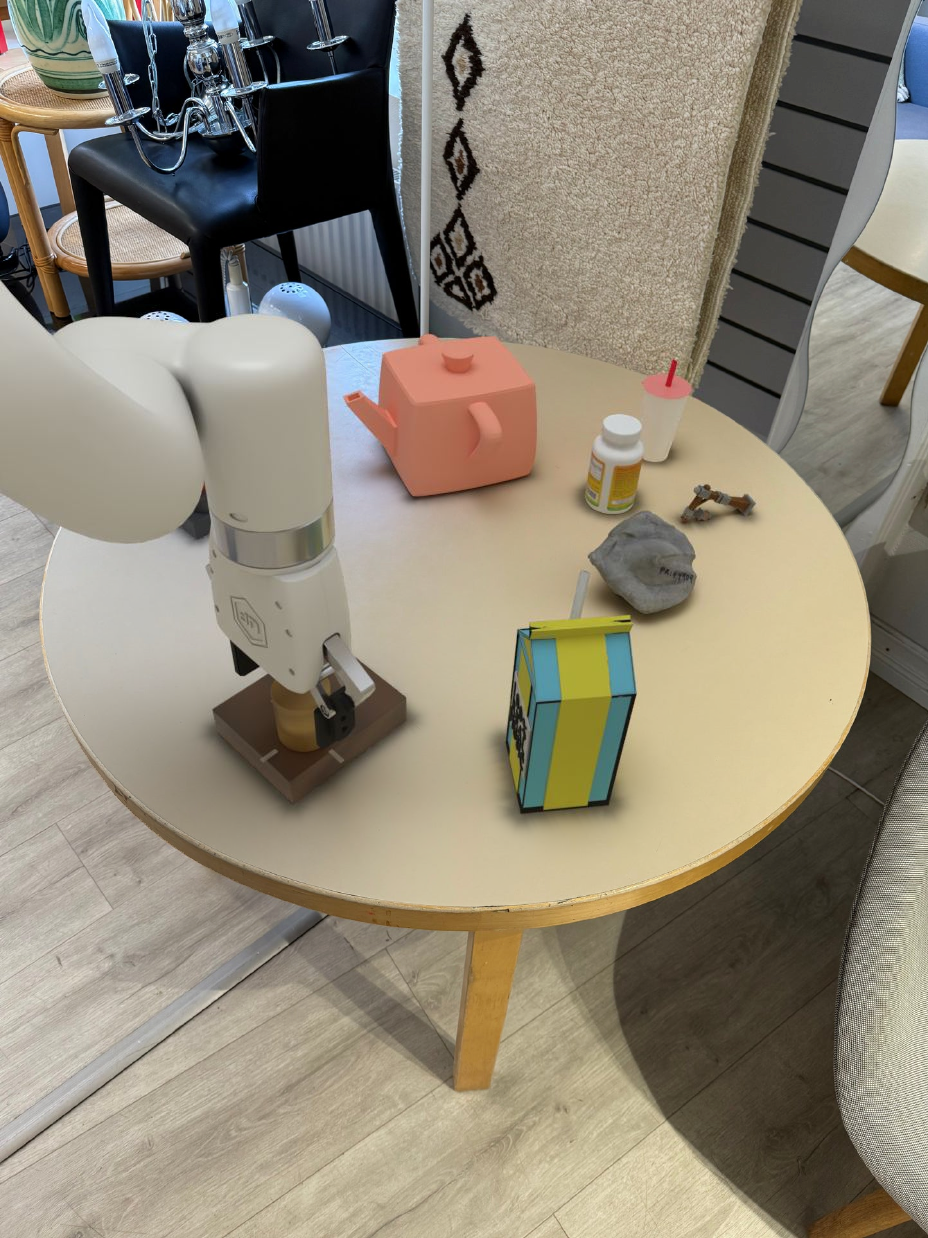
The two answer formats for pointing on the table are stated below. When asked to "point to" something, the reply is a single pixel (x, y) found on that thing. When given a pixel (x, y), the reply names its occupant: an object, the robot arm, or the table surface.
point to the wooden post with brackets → (704, 492)
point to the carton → (570, 708)
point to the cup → (662, 412)
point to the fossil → (646, 562)
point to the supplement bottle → (615, 465)
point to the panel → (300, 773)
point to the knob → (295, 717)
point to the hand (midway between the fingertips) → (294, 700)
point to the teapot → (453, 414)
